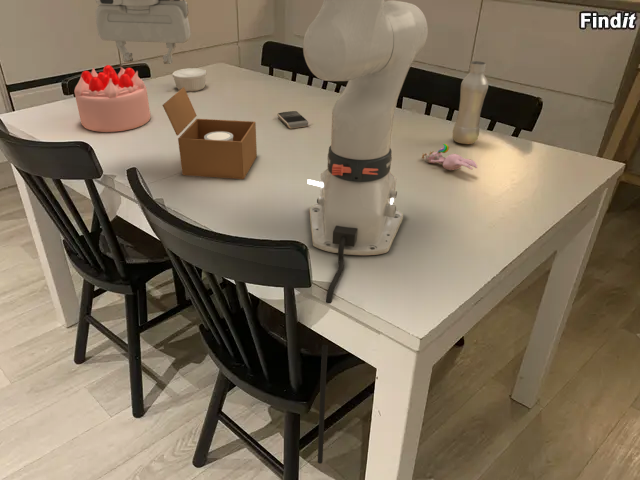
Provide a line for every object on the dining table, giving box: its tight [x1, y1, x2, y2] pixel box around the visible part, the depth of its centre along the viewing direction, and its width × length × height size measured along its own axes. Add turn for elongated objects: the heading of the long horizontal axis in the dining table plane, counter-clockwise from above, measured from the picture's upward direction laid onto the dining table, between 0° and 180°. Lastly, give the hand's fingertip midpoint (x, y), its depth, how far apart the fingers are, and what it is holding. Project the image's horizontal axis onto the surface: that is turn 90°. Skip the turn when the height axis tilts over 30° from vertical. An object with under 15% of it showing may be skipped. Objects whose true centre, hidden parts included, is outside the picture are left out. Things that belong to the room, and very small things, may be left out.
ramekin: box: [172, 67, 207, 93], centre depth 189 cm, size 11×11×5 cm
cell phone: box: [277, 110, 309, 130], centre depth 161 cm, size 6×11×1 cm, turn 18°
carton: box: [177, 118, 258, 180], centre depth 133 cm, size 14×15×9 cm
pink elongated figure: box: [421, 143, 478, 171], centre depth 131 cm, size 6×6×15 cm
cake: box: [74, 64, 151, 133], centre depth 159 cm, size 20×20×14 cm
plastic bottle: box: [452, 60, 489, 145], centre depth 141 cm, size 6×7×20 cm
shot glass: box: [204, 131, 233, 141], centre depth 134 cm, size 7×7×7 cm
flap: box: [162, 87, 198, 136], centre depth 130 cm, size 14×7×1 cm
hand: (148, 62), depth 125 cm, fingers open, 8 cm apart
